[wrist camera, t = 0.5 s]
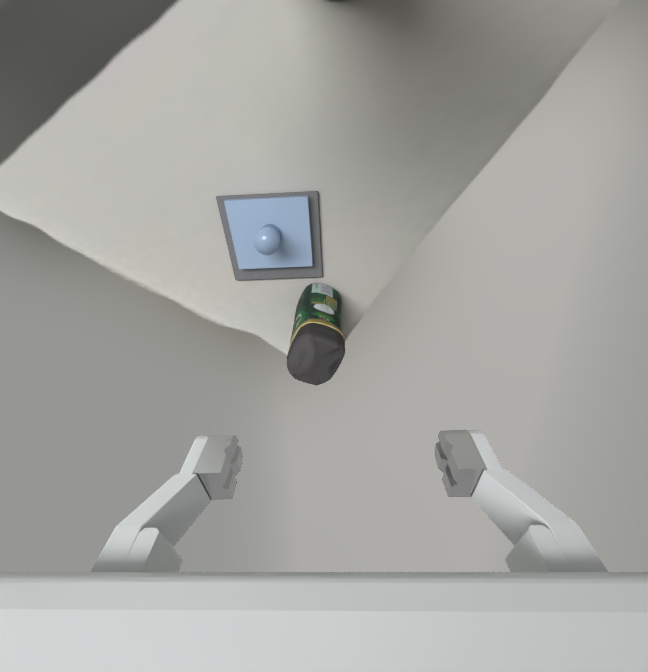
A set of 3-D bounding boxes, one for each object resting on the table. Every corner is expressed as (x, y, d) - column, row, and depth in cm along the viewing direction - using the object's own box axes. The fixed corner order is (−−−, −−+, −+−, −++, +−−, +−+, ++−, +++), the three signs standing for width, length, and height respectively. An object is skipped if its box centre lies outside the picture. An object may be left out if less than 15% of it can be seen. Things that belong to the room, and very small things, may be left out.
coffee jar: (328, 330, 59) (327, 396, 44) (291, 317, 57) (277, 381, 42) (347, 290, 54) (354, 349, 39) (308, 275, 52) (299, 330, 37)
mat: (217, 196, 45) (216, 196, 45) (317, 191, 45) (317, 191, 44) (236, 279, 53) (235, 280, 53) (322, 275, 52) (322, 276, 52)
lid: (226, 199, 45) (213, 206, 40) (308, 195, 44) (305, 201, 40) (240, 266, 51) (231, 279, 46) (312, 263, 51) (311, 276, 46)
